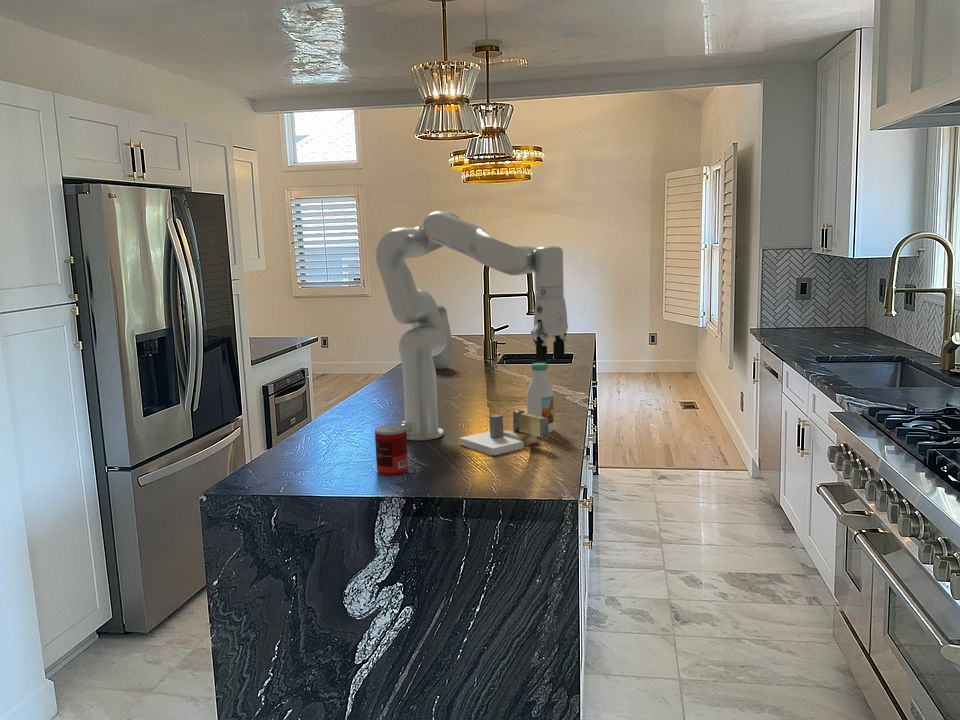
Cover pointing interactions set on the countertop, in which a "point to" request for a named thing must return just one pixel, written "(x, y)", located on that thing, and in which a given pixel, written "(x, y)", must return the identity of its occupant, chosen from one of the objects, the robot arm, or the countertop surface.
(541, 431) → the bar
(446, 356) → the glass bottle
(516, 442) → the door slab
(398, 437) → the canned food
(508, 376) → the countertop surface
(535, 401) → the milk bottle
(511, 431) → the jamb block
